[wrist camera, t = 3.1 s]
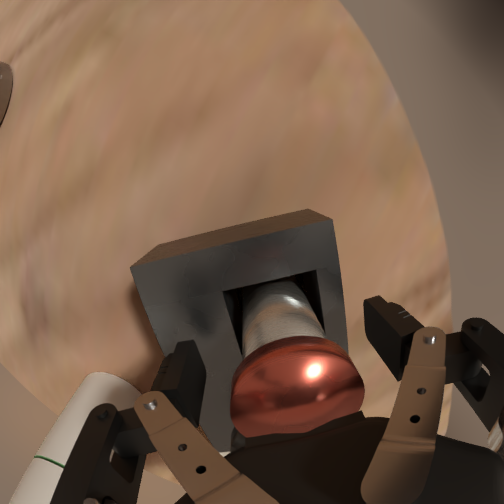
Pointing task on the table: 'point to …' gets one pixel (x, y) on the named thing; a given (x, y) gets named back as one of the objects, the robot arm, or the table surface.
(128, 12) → the table surface
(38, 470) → the cylindrical container
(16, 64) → the table surface
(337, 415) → the pin
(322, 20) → the table surface
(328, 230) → the dark grey block
